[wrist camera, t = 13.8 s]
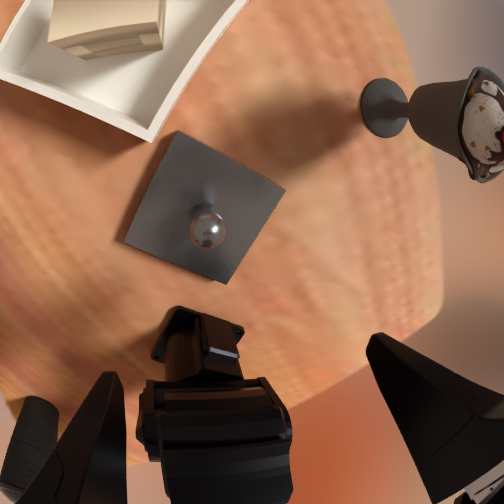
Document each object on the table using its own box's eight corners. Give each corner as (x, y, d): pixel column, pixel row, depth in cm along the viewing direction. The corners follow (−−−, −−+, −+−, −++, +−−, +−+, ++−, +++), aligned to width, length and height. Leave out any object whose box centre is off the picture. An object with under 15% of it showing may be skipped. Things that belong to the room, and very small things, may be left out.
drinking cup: (47, 387, 24) (28, 550, 7) (79, 423, 28) (77, 563, 10) (5, 388, 23) (-22, 527, 5) (37, 422, 26) (26, 547, 9)
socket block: (163, 49, 14) (156, 21, 9) (85, 60, 13) (47, 42, 8) (168, -16, 12) (167, -61, 6) (92, -6, 10) (63, -42, 5)
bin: (157, 136, 17) (151, 143, 13) (16, 76, 12) (-14, 74, 8) (255, -7, 13) (273, -29, 10) (111, -61, 8) (102, -87, 5)
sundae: (336, 119, 19) (532, 170, 6) (373, 52, 17) (555, 52, 4) (393, 163, 22) (550, 240, 9) (423, 101, 20) (579, 141, 7)
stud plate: (223, 276, 23) (235, 314, 19) (126, 235, 19) (114, 268, 15) (280, 186, 20) (306, 207, 16) (178, 129, 17) (178, 135, 13)
